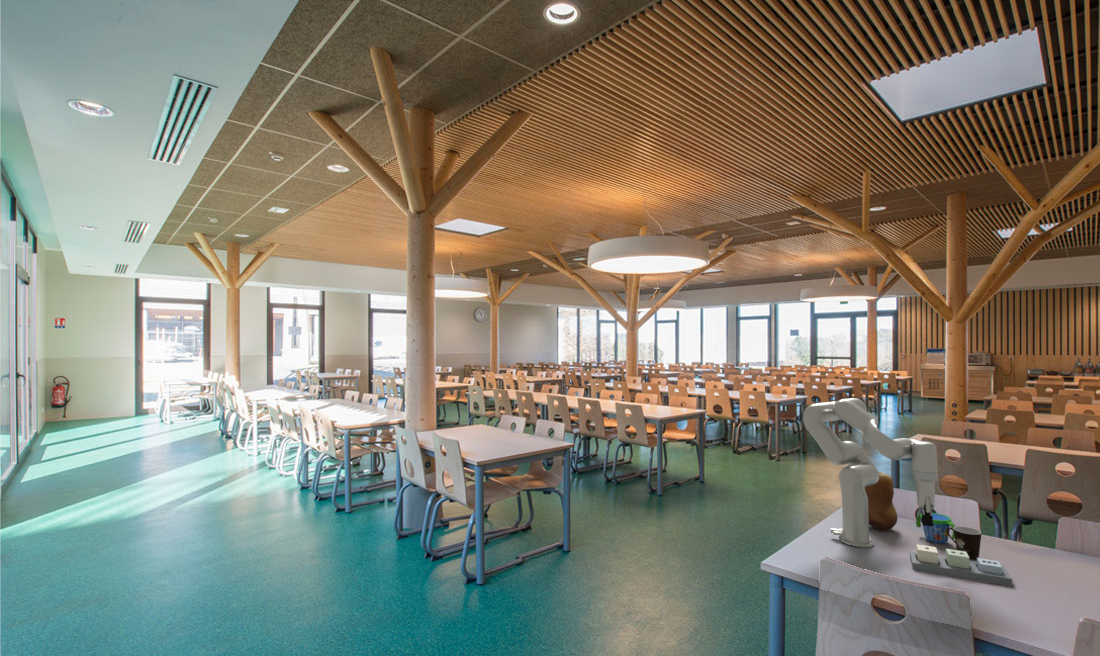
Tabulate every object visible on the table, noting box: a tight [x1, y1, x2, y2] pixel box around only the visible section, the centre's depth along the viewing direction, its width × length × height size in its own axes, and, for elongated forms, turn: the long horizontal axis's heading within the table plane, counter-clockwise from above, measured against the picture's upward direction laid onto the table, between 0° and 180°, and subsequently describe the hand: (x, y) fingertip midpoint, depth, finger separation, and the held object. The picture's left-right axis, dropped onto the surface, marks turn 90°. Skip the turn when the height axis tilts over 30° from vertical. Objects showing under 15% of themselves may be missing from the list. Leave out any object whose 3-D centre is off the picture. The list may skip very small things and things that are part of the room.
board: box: [909, 550, 1013, 587], centre depth 192 cm, size 28×12×2 cm, turn 60°
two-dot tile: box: [945, 548, 970, 569], centre depth 192 cm, size 6×6×4 cm
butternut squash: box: [865, 470, 898, 532], centre depth 236 cm, size 14×13×25 cm
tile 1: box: [916, 543, 939, 564], centre depth 196 cm, size 6×6×4 cm
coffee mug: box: [947, 525, 982, 561], centre depth 206 cm, size 12×9×10 cm
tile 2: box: [976, 557, 1003, 575], centre depth 187 cm, size 6×6×4 cm
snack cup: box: [915, 512, 956, 545], centre depth 220 cm, size 16×10×10 cm
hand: (927, 525), depth 196 cm, fingers closed
